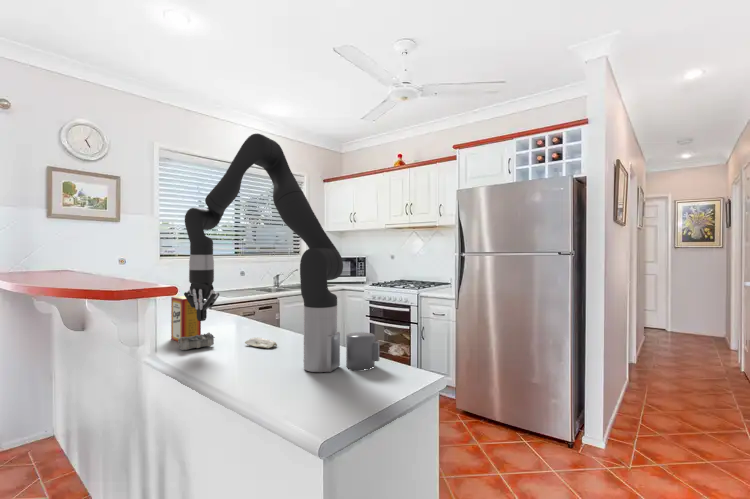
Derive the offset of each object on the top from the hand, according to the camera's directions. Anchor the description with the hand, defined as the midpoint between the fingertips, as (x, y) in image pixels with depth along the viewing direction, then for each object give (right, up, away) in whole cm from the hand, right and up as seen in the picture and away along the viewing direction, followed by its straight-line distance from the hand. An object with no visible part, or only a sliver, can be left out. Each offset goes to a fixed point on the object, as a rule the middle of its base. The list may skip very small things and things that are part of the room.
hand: (201, 320), depth 131 cm
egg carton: (0, -10, 0) cm, 10 cm away
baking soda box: (-11, -10, +13) cm, 20 cm away
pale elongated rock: (+18, -10, +2) cm, 21 cm away
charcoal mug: (+54, -10, -20) cm, 58 cm away
